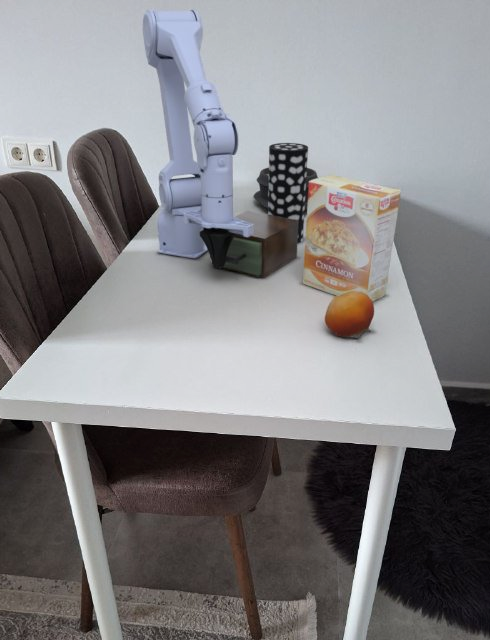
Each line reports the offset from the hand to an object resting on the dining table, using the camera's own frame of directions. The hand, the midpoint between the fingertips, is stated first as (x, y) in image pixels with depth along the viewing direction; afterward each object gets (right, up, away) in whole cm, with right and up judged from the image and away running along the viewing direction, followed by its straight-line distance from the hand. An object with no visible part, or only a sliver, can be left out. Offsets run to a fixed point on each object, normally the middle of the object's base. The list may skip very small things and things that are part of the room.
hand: (218, 266), depth 110 cm
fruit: (+22, -14, -14) cm, 30 cm away
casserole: (+16, +28, +46) cm, 57 cm away
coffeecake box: (+24, -5, 0) cm, 24 cm away
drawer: (+5, +3, +8) cm, 10 cm away
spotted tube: (+14, +12, +23) cm, 30 cm away
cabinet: (+7, +4, +11) cm, 14 cm away
